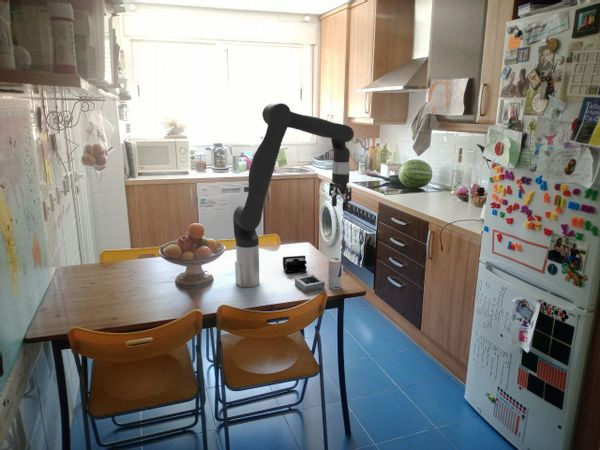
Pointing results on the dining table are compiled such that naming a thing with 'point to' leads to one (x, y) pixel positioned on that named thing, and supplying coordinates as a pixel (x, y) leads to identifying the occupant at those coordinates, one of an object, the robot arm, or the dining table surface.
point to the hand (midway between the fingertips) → (339, 208)
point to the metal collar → (306, 287)
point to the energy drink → (334, 273)
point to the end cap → (294, 264)
